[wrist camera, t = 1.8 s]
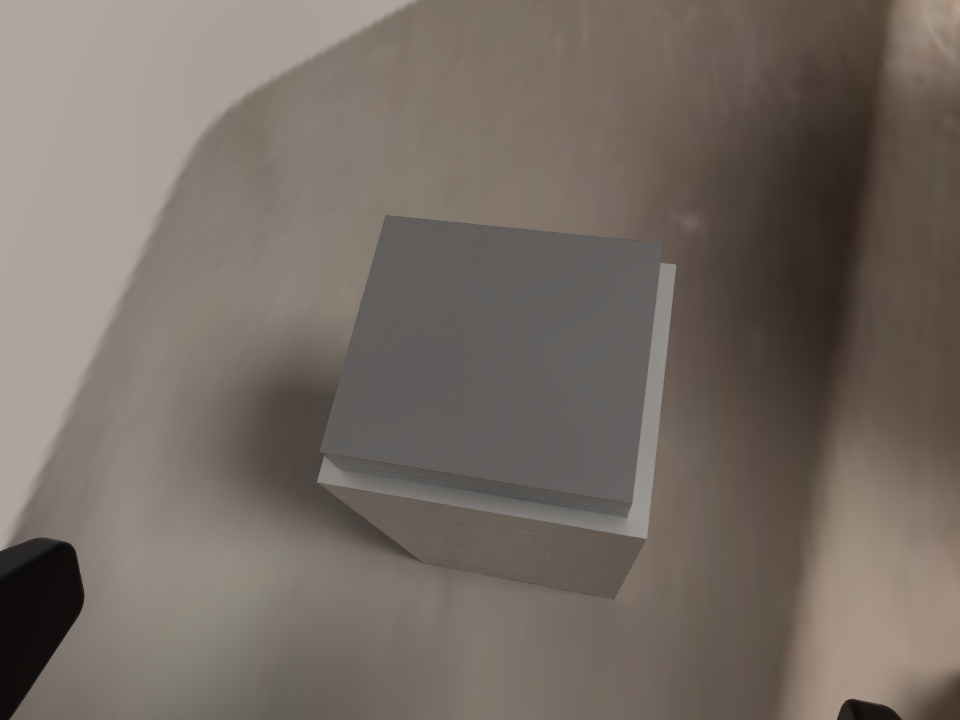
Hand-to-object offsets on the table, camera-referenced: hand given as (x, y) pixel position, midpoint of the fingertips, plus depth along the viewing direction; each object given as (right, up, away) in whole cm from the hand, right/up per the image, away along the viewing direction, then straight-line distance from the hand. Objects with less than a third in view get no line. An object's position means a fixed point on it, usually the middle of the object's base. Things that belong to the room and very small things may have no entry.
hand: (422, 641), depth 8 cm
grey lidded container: (+2, 0, +12) cm, 12 cm away
